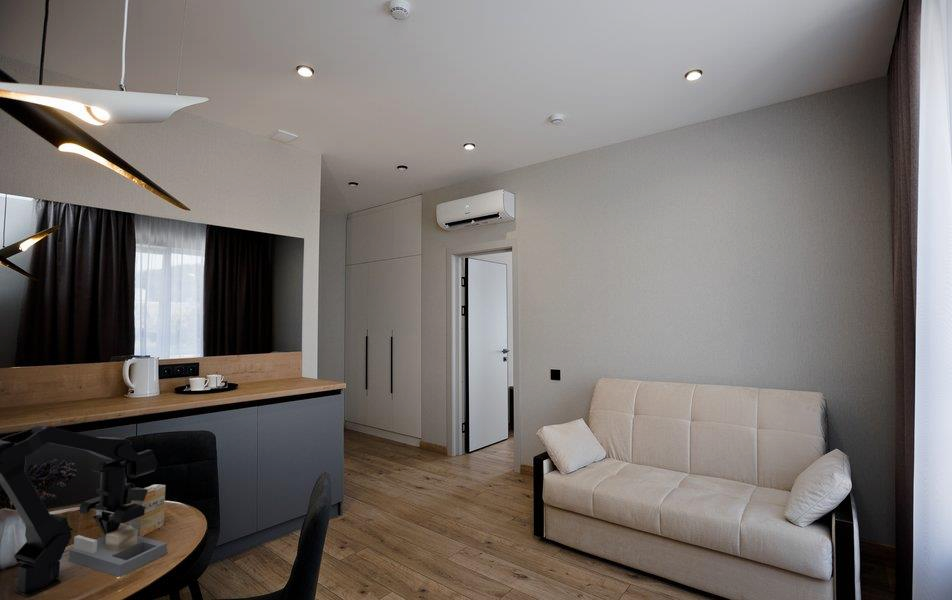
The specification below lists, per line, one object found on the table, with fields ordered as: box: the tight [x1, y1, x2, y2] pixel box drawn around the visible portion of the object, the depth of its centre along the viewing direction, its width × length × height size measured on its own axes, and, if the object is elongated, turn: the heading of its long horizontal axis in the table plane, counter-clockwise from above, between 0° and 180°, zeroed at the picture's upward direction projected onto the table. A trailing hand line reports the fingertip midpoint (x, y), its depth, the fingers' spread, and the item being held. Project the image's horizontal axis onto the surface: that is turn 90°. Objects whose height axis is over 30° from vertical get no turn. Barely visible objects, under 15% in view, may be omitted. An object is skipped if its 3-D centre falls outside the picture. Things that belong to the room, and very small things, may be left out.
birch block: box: [105, 526, 138, 552], centre depth 123 cm, size 5×5×4 cm
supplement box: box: [128, 484, 166, 537], centre depth 138 cm, size 8×5×13 cm, turn 168°
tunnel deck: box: [68, 523, 168, 578], centre depth 123 cm, size 12×21×6 cm, turn 70°
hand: (110, 539), depth 124 cm, fingers closed
